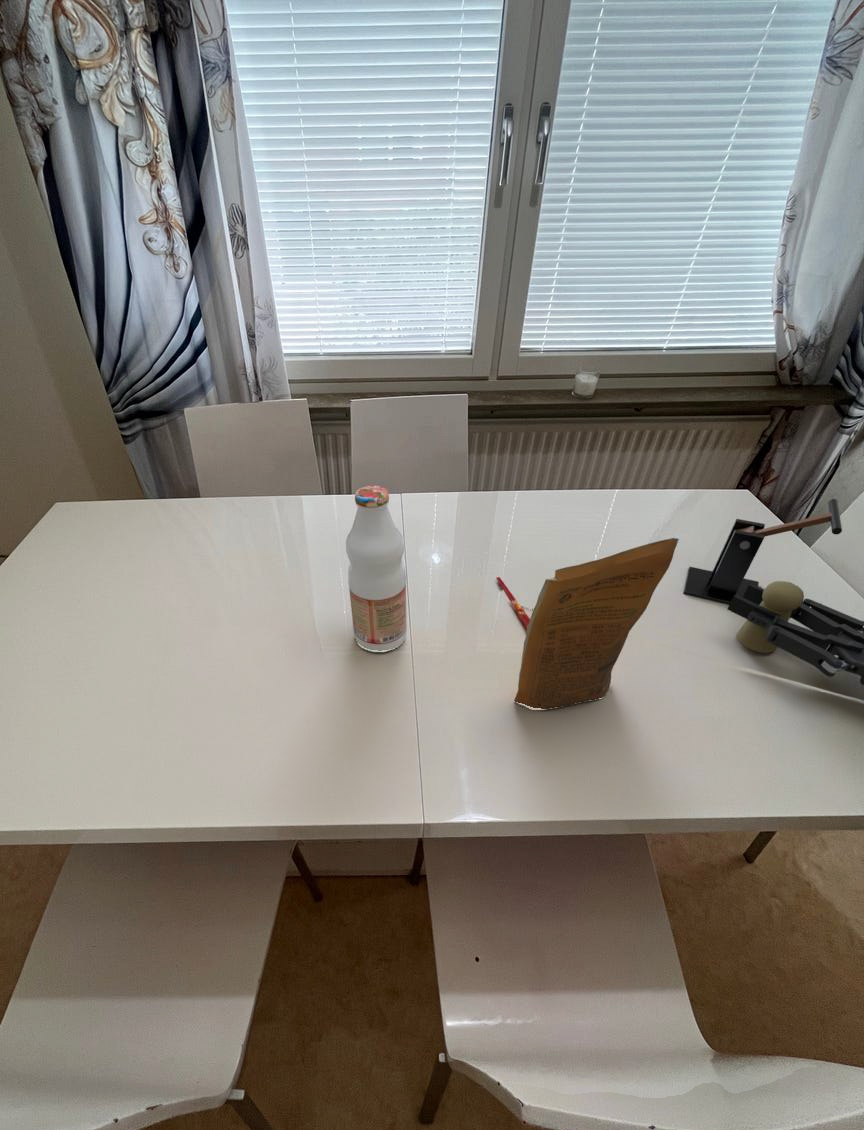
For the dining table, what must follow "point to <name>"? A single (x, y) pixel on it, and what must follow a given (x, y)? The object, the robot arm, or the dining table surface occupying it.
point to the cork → (777, 600)
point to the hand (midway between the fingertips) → (739, 596)
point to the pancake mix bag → (587, 624)
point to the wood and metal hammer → (805, 522)
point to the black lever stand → (727, 567)
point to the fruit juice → (376, 573)
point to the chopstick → (515, 604)
